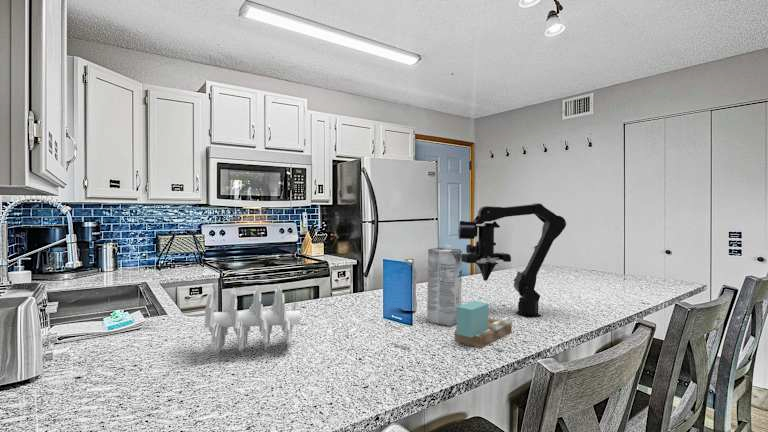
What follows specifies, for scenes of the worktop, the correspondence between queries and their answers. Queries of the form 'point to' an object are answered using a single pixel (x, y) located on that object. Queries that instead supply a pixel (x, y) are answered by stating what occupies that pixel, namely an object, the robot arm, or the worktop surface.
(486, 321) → the teal block
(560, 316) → the worktop surface
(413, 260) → the plastic bottle
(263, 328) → the white sculpted piece
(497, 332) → the brown tray
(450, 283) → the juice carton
